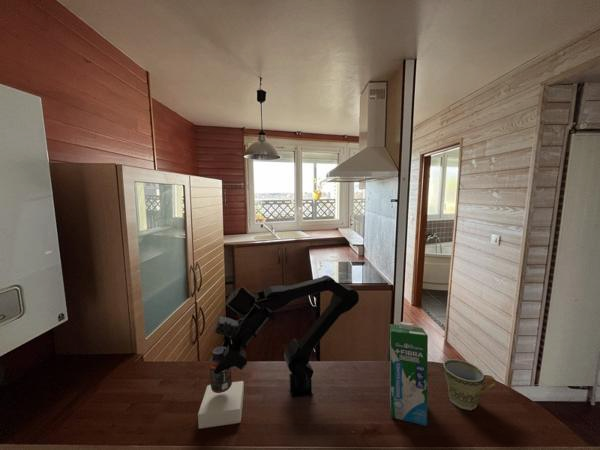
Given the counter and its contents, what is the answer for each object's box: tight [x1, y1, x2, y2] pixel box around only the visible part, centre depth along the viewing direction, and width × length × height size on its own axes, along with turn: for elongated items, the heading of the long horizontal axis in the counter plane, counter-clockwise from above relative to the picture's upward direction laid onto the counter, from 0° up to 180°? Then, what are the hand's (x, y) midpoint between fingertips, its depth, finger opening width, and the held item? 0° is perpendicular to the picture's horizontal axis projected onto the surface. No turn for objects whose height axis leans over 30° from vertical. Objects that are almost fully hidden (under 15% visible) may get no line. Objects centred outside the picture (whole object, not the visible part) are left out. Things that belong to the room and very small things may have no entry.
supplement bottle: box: [209, 345, 233, 393], centre depth 71 cm, size 6×6×11 cm
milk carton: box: [389, 321, 429, 427], centre depth 69 cm, size 9×9×25 cm
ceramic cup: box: [442, 358, 497, 411], centre depth 71 cm, size 13×10×10 cm
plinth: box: [197, 380, 245, 429], centre depth 71 cm, size 11×11×4 cm
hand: (215, 366), depth 70 cm, fingers closed on supplement bottle, 6 cm apart
